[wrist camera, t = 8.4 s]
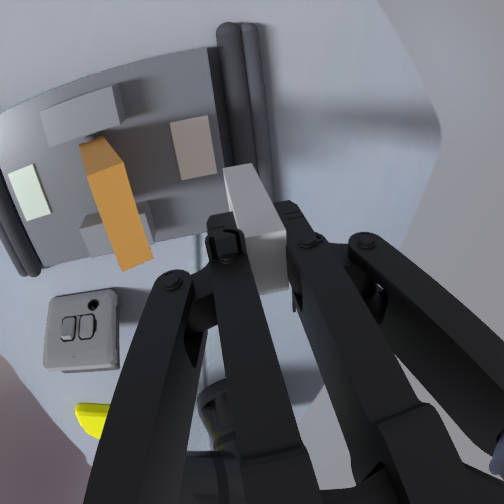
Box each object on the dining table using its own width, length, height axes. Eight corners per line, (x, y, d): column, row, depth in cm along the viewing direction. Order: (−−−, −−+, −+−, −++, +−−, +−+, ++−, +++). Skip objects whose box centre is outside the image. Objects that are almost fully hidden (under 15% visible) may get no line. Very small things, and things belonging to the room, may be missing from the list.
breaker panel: (230, 211, 32) (238, 240, 28) (52, 250, 31) (37, 282, 26) (204, 48, 23) (208, 46, 18) (1, 113, 21) (-29, 128, 17)
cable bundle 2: (275, 220, 34) (279, 230, 32) (242, 226, 33) (246, 236, 32) (254, 20, 22) (258, 18, 20) (213, 24, 22) (215, 22, 20)
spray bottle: (127, 403, 50) (143, 448, 64) (71, 399, 47) (100, 446, 61) (126, 417, 48) (144, 459, 61) (69, 413, 45) (100, 456, 59)
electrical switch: (115, 285, 35) (107, 354, 28) (129, 314, 38) (126, 379, 31) (49, 296, 34) (33, 359, 27) (67, 321, 37) (56, 382, 30)
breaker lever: (121, 202, 26) (154, 262, 18) (100, 211, 25) (124, 275, 18) (100, 130, 22) (121, 156, 15) (77, 139, 22) (84, 171, 14)
